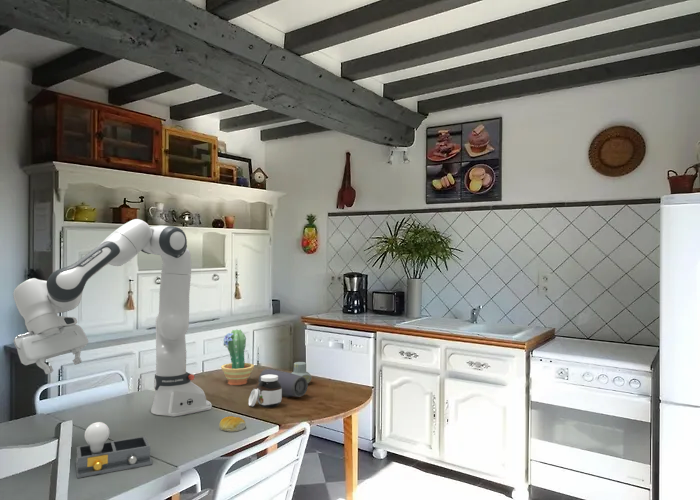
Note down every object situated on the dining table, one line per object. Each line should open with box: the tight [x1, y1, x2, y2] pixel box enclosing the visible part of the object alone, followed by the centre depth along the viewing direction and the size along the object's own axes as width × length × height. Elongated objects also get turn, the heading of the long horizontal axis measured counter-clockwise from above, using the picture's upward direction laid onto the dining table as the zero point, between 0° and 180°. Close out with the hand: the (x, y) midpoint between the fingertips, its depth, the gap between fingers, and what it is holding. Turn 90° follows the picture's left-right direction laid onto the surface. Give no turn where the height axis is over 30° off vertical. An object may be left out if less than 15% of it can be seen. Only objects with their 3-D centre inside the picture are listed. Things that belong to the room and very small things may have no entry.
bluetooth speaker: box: [258, 368, 309, 398], centre depth 221 cm, size 23×9×10 cm, turn 50°
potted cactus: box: [221, 329, 255, 386], centre depth 241 cm, size 15×15×25 cm
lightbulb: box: [84, 421, 110, 455], centre depth 145 cm, size 6×6×11 cm
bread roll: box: [218, 415, 247, 433], centre depth 177 cm, size 8×9×4 cm
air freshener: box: [291, 361, 312, 384], centre depth 239 cm, size 11×8×10 cm
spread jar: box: [248, 374, 283, 409], centre depth 204 cm, size 12×11×12 cm
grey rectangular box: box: [75, 435, 153, 479], centre depth 146 cm, size 19×12×4 cm, turn 120°
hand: (64, 368), depth 155 cm, fingers open, 8 cm apart
